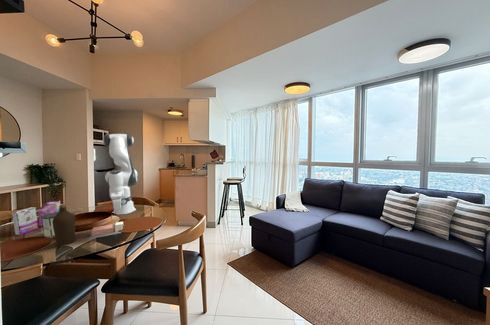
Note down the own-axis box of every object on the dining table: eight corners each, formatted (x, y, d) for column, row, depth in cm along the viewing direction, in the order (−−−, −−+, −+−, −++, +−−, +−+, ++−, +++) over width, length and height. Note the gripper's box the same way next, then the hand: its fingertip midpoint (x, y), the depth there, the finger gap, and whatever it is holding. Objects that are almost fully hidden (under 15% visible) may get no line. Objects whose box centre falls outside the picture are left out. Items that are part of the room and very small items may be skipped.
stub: (115, 229, 150) (115, 222, 149) (123, 227, 152) (123, 221, 152) (115, 232, 145) (114, 225, 145) (123, 230, 148) (122, 223, 147)
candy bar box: (33, 228, 152) (31, 206, 151) (39, 228, 151) (36, 207, 150) (14, 235, 142) (11, 212, 140) (19, 235, 141) (17, 212, 139)
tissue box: (55, 230, 149) (53, 211, 147) (68, 231, 148) (66, 212, 146) (39, 237, 139) (37, 217, 137) (53, 237, 138) (51, 217, 136)
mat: (91, 232, 146) (91, 231, 146) (137, 224, 160) (136, 223, 160) (89, 239, 135) (89, 238, 135) (137, 230, 149) (137, 229, 149)
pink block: (93, 232, 144) (93, 227, 144) (114, 229, 150) (113, 223, 150) (92, 236, 138) (91, 231, 138) (113, 232, 144) (113, 227, 144)
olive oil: (68, 246, 126) (65, 207, 124) (50, 247, 125) (45, 208, 123) (80, 238, 137) (77, 202, 134) (63, 239, 136) (60, 202, 133)
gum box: (52, 225, 157) (50, 208, 156) (38, 227, 153) (36, 210, 152) (62, 215, 178) (60, 200, 177) (49, 217, 174) (48, 201, 173)
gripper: (112, 191, 153) (114, 209, 154) (110, 197, 135) (112, 217, 137) (122, 190, 156) (123, 207, 158) (121, 196, 138) (123, 215, 140)
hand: (118, 212), depth 147 cm, fingers open, 8 cm apart
